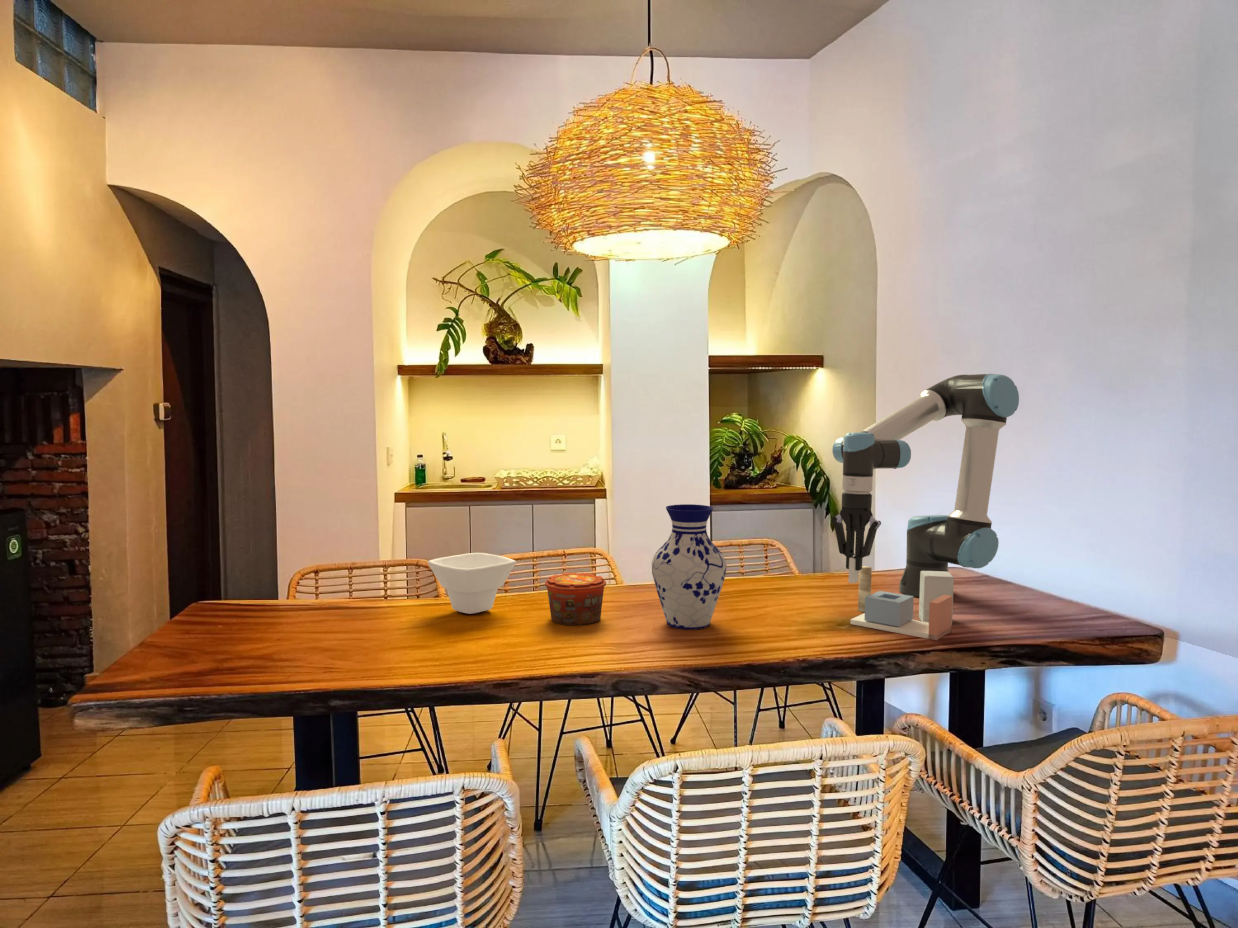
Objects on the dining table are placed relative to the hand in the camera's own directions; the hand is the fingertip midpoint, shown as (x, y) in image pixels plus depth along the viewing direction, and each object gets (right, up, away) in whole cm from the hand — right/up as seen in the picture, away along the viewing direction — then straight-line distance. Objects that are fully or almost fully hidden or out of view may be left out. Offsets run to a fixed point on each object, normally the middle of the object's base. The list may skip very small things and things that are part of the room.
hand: (853, 582), depth 224 cm
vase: (-43, -10, -4) cm, 45 cm away
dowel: (+6, -9, +10) cm, 14 cm away
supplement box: (+21, -10, -1) cm, 23 cm away
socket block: (+8, -9, -5) cm, 13 cm away
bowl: (-100, -9, +7) cm, 101 cm away
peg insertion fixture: (+10, -11, -7) cm, 16 cm away
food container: (-72, -10, 0) cm, 73 cm away
